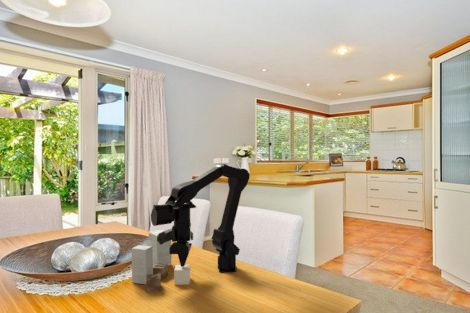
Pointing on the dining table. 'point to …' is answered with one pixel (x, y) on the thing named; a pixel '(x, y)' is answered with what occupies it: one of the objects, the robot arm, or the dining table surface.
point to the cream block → (181, 275)
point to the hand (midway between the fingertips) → (182, 266)
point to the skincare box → (141, 263)
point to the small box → (159, 249)
